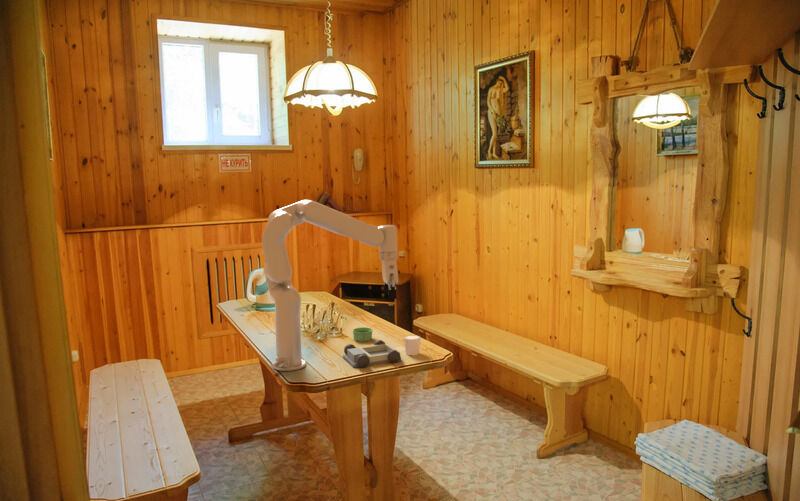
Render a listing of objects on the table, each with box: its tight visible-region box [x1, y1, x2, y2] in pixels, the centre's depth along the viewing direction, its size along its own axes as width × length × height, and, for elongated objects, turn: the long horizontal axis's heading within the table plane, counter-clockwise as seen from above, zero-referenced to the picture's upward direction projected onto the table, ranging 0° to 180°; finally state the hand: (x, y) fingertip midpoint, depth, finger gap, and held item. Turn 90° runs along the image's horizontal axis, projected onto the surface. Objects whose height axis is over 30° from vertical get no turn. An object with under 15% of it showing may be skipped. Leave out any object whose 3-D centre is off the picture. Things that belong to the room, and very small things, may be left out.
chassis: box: [342, 339, 402, 369], centre depth 222 cm, size 20×17×5 cm
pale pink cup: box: [403, 334, 421, 356], centre depth 229 cm, size 7×7×7 cm
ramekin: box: [352, 326, 373, 343], centre depth 250 cm, size 9×9×4 cm
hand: (390, 296), depth 228 cm, fingers open, 9 cm apart
